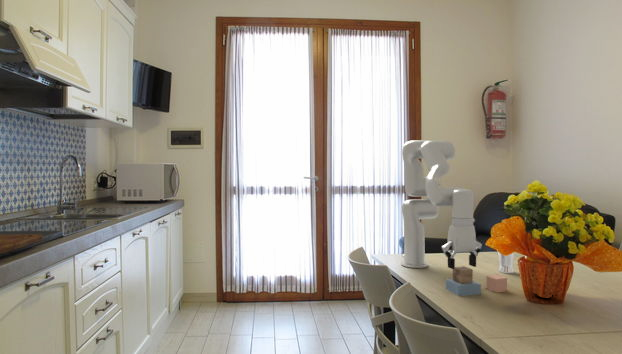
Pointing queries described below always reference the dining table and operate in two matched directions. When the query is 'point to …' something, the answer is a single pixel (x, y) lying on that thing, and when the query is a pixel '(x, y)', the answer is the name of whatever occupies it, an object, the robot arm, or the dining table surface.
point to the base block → (463, 288)
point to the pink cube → (496, 283)
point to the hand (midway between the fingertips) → (461, 267)
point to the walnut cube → (463, 275)
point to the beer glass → (506, 263)
